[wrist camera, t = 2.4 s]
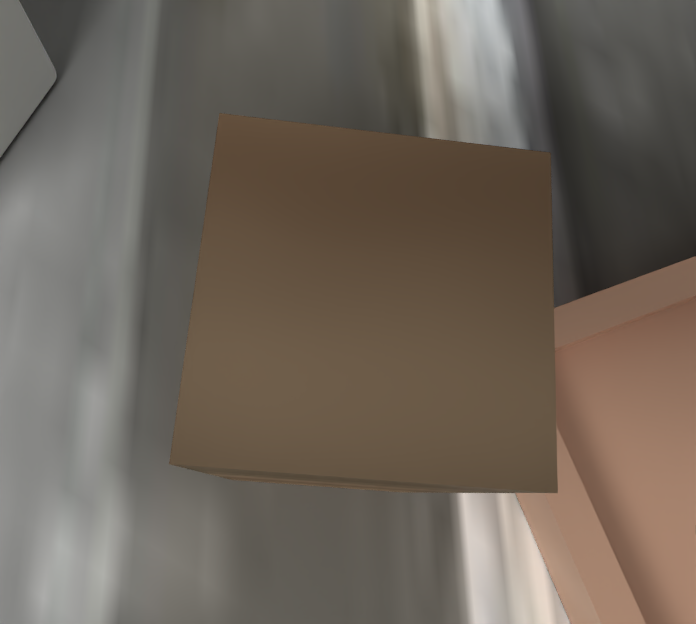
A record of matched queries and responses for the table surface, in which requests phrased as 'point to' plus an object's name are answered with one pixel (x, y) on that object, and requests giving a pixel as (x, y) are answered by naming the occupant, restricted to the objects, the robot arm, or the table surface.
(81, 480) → the table surface
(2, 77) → the medicine bottle
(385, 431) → the walnut block
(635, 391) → the terracotta dish
